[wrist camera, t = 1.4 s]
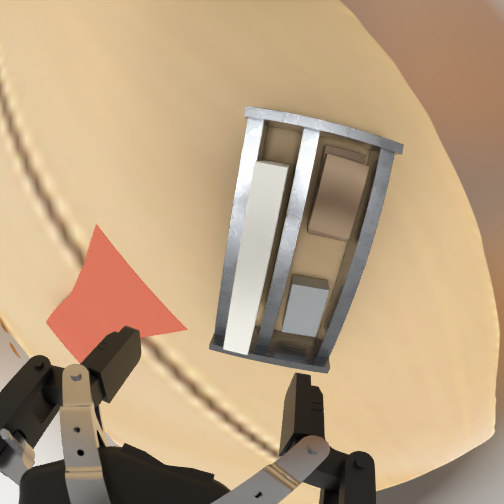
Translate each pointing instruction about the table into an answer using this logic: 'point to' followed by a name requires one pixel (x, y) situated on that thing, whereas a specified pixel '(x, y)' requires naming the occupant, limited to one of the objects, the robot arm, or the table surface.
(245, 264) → the white flat board
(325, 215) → the offcut
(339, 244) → the table surface
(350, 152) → the offcut
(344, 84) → the table surface
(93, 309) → the sheet
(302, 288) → the offcut
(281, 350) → the rack
